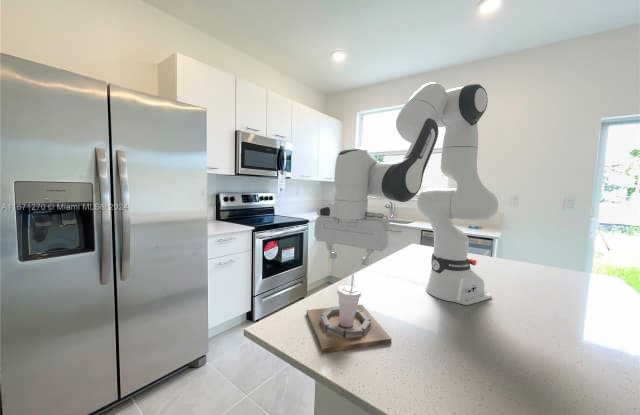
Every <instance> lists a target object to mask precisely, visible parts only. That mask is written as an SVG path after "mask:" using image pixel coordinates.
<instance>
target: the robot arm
mask: <svg viewBox="0 0 640 415" xmlns="http://www.w3.org/2000/svg"><path fill="white" fill-rule="evenodd" d="M487 108H488V93H487V91H486V89H485V88H484V86H482V85H481V84H479V83H472V84H466V85H464V86H460V87H455V88H451V89H448V90H446V88H445V87H444V86H443V85H441V84H440V83H437V82H429V83H425V84H423V85H422V86H421V87H420V88H419V89H417V91H415V92H414V93H413V95H411V97H410V98H409V99H408V100H407V102H406V103H405V105H403V107H402V109H401V110H400V112H399V114H398V115H397V117H396V120H395V126H396V131H397V132H398V134H399V135H400V137H401V138H402V139H404V140H405V141H406V142H409V143H410V145H409V148H408V150H407V152H406V155H405V156H404V157H403V158H400V159H399V160H395V161H386V162H385V161H384V162H383V161H382V162H381V161H378V160H376V159H375V158H373V157H372V156H371V155H370V154H369V153H368V150H367V149H366V148H364V147H357V148H349V149H343V150H342V151H339V152H338V154H337V156H336V159H335V165H334V180H333V181H334V188H335V192H334V193H335V194H334V196H333V203H330V204H328V205H324V206H321V207H319V208H317V209H316V214H317V218H316V219H315V223H314V232H313V234H314V238H315V241H318V242H321V243H322V242H324V243H325V246H326V249H327V250H328V253H329V259H332V260H336V259H337V258H338V251H336V250H335V248H334V245H340V246H341V245H343V246H345V247H346V246H347V247H353V248H359V249H364V250H365V252H366V256H363V257H362V258H361V265H363V266H369V265H370V258H371V257H372V256H373V254H374V253H375V251H378V252H383V251H385V250H386V249H387V248H388V247H389V233H388V232H389V230H390V219H389V217H388V216H387V215H385V214H384V213H381V212H380V213H379V212H377V213H376V212H369V211H368V208H369V207H368V202H369V198H368V197H371V198H377V199H378V198H379V199H385V200H391V201H395V202H399V203H407V202H409V201H411V200H412V199H413V198H414V197H415V196H417V194H418V193H419V191H420V189H421V186H422V183H423V179H424V174H425V172H426V171H425V170H426V168H427V165H428V163H429V161H430V158H431V156H432V153H433V151H434V149H435V146H436V143H437V140H438V137H439V128H444V127H445V132H444V135H443V136H444V137H443V140H442V148H441V149H442V150H441V158H440V159H441V160H440V170H441V172H442V174H443V175H444V176H446V177H448V178H450V179H451V180H454V181H455V182H456V184H457V187H455V188H453V187H452V188H451V187H450V188H448V187H432V188H425V189H423V190H421V191H420V193H419V194H418V196H417V199H416V206H417V209H418V211H419V212H420V213H421V214H422V215H423V216H424V217H425V218H426V220H428V222H429V224H430V225H431V228H432V232H433V253H432V254H431V270H430V274H429V278H428V281H427V284H426V287H425V292H426V293H427V294H429V295H431V296H433V297H434V298H437V299H440V300H442V301H443V300H444V301H447V302H452V303H457V304H461V305H465V306H469V305H472V304H476V303H479V302H484V301H486V300H490V299H492V294H491V293H490V292H488V291H487V290H485V281H484V279H483V278H482V277H481V276H480V275H479V274H478V273H476V272H475V271H474V270H473V269H472V268H471V266H476V265H477V264H478V260H476V259H473V258H468V252H469V245H470V244H469V243H470V240H469V237H468V235H467V234H466V233H465V232H464V231H462V230H461V229H460V228H457V227H456V226H455V225H454V223H453V221H452V220H459V221H460V220H462V221H468V222H469V221H471V222H482V221H483V222H484V221H489V220H491V219H492V218H494V217H495V215H496V214H497V213H498V210H499V201H498V198H497V196H496V195H495V194H494V192H492V191H491V190H489V189H488V188H487V187H486V186H485V185H484V183H483V182H482V181H481V179H480V177H479V173H478V151H479V150H478V149H479V128H478V122H479V120H480V119H481V118H482V117H483V115H484V113H485V111H486V110H487Z"/></svg>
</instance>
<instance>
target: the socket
mask: <svg viewBox="0 0 640 415" xmlns="http://www.w3.org/2000/svg"><path fill="white" fill-rule="evenodd" d="M371 314H372V313H370V312H369V311H368V310H367V309H366V308H365V306H364V305H363V304H358V305H357V310H356V314H355V318H354V323H353V326H352V327H344V326H342V325H340V318H339V305H338V306H330V307H326V308H325V307H324V308H316V309H315V308H313V309H307V310H306V316H307V318H308V321H309V323H310V325H311V329H312V331H313V334H314V336H315V338H316V340H317V343H318V345H319V348H320V350H321V353H322V354H327V353H333V352H334V353H335V352H340V351H347V350H353V349H361V348H368V347H374V346H380V345H381V346H382V345H388V344H392V339H393V338H392V337H391V336H390V335H389V334H388V333H387V331H386V330H385V329H384V328H383V327H382V326H381V325H380V323H379V322H378V321H377V320H376V319H375V317H373V315H371Z"/></svg>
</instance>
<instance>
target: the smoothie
mask: <svg viewBox="0 0 640 415" xmlns="http://www.w3.org/2000/svg"><path fill="white" fill-rule="evenodd" d="M354 278H355V275H354V274H351V280H350V284H344V285H340V286H339V287H338V288H337V292H336V293H337V294H338V306H339V318H340V325H342V326H344V327H352V326H353V323H354V318H355V314H356V310H357V305H359V302H360V301H359V299H360V297H361V296H362V290H361V289H360V288H359V287H357V286H354Z"/></svg>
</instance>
